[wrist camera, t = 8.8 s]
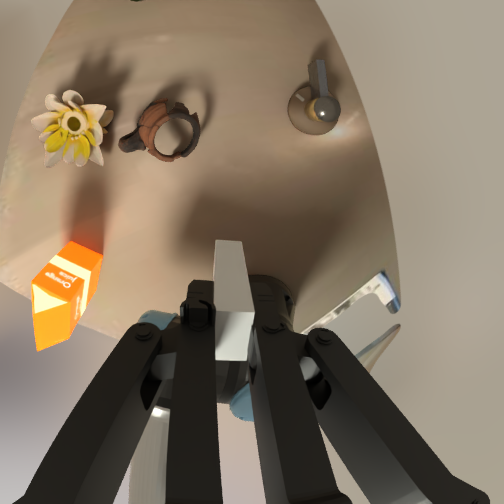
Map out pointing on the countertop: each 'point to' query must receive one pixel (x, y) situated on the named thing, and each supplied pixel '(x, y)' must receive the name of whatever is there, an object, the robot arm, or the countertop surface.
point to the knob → (320, 95)
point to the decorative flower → (72, 129)
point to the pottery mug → (152, 122)
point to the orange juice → (63, 293)
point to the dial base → (299, 117)
